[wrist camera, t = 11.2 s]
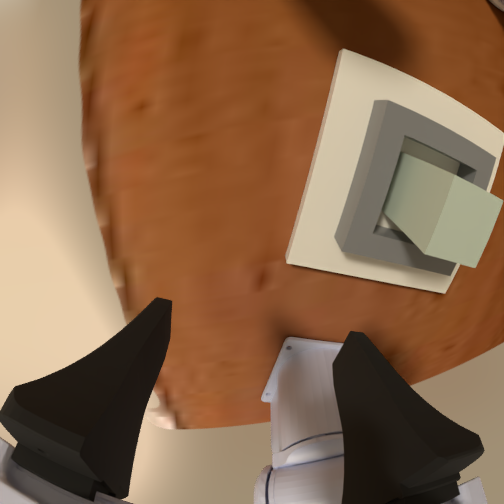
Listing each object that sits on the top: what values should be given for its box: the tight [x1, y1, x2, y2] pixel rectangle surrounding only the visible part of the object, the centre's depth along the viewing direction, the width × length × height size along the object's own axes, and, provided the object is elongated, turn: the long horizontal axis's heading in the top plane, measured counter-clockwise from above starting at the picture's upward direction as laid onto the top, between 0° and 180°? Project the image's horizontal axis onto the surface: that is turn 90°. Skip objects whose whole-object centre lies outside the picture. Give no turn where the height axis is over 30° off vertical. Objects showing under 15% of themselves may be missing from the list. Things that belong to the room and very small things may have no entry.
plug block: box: [381, 152, 503, 268], centre depth 14 cm, size 4×4×6 cm
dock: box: [285, 49, 504, 293], centre depth 16 cm, size 14×14×3 cm
